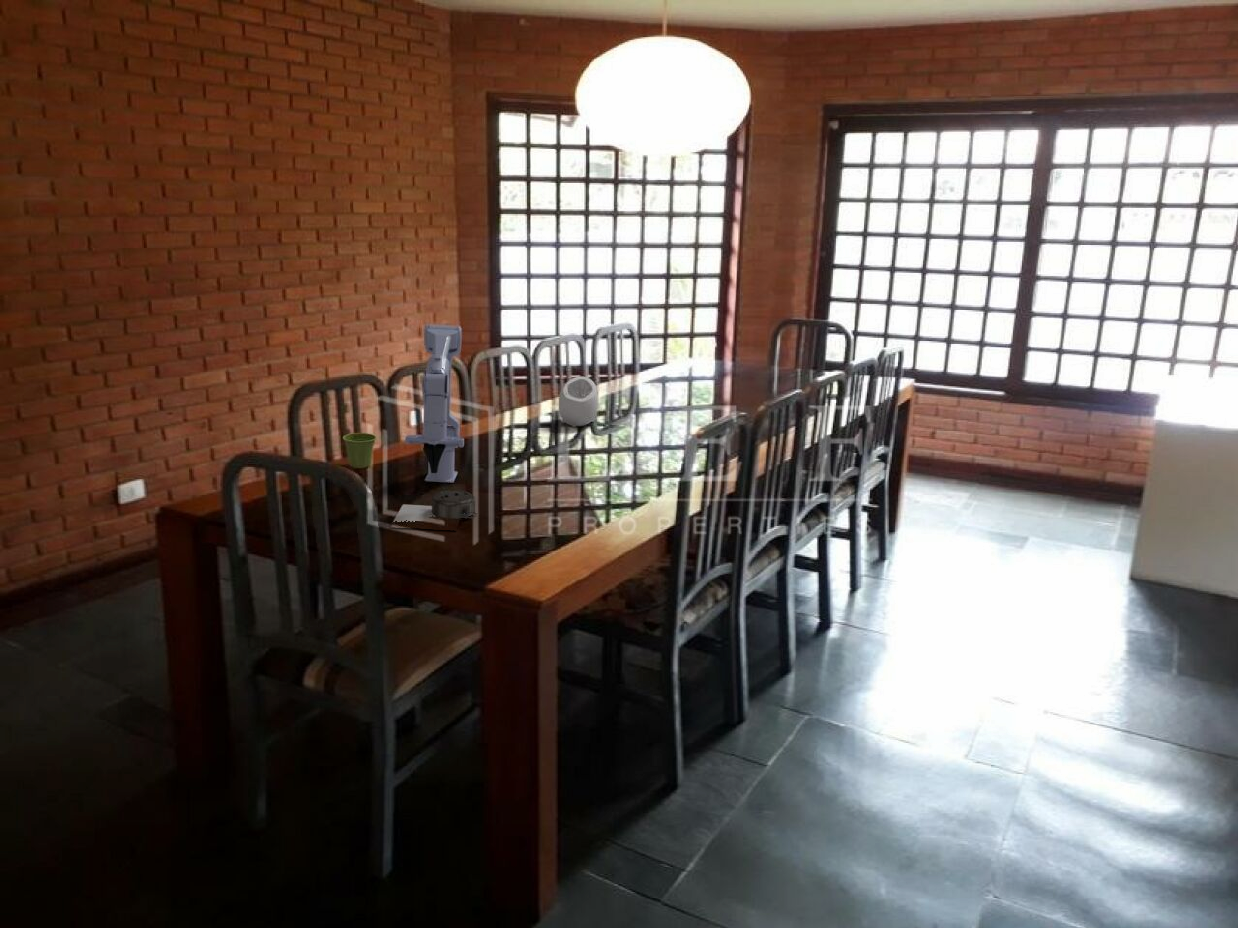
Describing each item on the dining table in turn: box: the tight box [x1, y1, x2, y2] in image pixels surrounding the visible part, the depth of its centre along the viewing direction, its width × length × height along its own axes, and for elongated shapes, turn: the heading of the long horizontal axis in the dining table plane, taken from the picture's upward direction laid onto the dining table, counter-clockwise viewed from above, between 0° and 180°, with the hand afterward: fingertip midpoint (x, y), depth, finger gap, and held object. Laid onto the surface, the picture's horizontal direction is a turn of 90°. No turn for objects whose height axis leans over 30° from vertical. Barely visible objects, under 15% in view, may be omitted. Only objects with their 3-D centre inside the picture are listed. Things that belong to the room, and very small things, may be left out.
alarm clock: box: [425, 486, 478, 519], centre depth 241 cm, size 11×5×16 cm
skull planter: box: [558, 376, 599, 428], centre depth 340 cm, size 14×20×19 cm
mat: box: [392, 503, 436, 523], centre depth 239 cm, size 16×16×1 cm
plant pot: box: [342, 432, 377, 469], centre depth 275 cm, size 9×9×9 cm
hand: (434, 472), depth 243 cm, fingers closed
